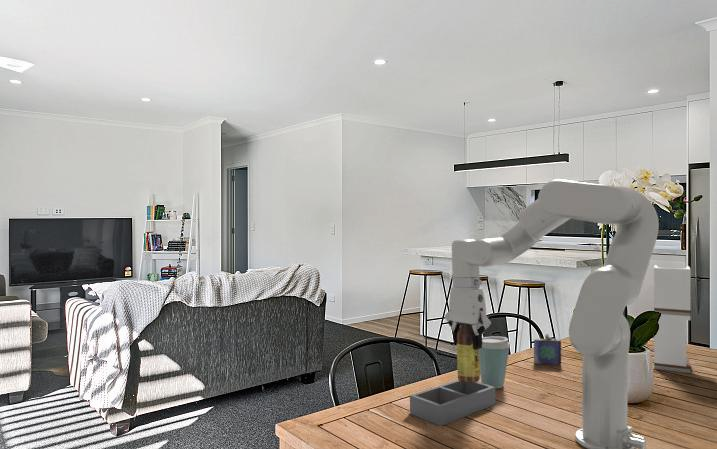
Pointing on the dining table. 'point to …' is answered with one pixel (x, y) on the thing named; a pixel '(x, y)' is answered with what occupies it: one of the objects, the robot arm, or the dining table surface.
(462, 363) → the sauce bottle
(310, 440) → the dining table surface
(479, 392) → the dock
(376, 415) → the dining table surface
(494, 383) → the disposable coffee cup
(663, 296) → the white square tower
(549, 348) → the flask
